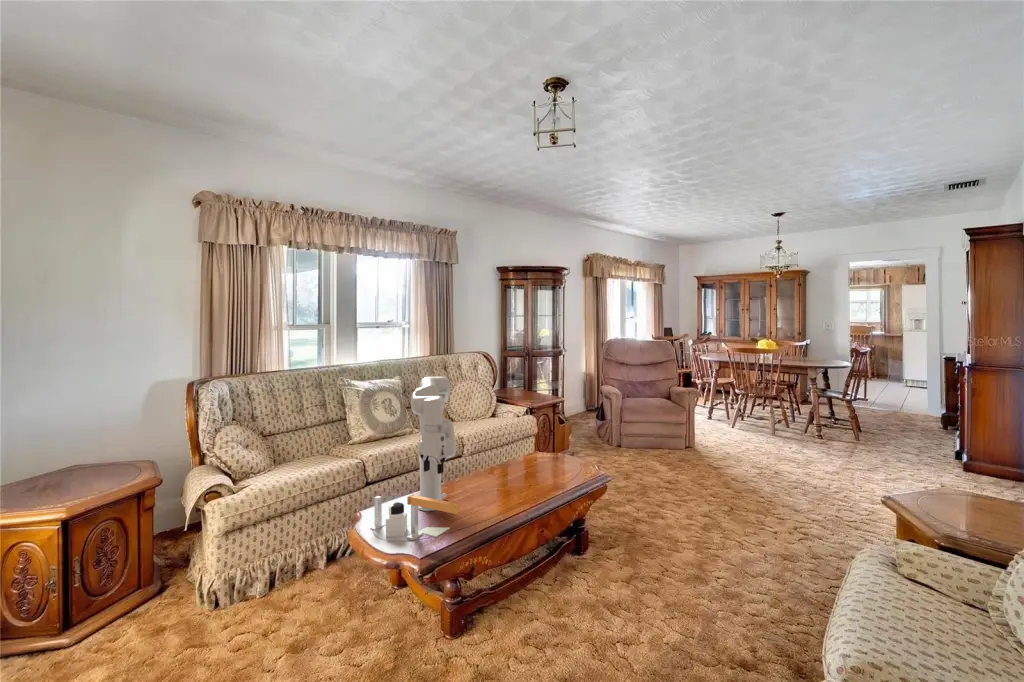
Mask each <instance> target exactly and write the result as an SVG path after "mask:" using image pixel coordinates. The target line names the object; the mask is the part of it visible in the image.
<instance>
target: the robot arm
mask: <svg viewBox="0 0 1024 682" xmlns="http://www.w3.org/2000/svg"><path fill="white" fill-rule="evenodd" d="M450 393H451V382H450V379H449V378H448V377H447V376H426V377H423V378H422V379H421V380H420V382H419V387H418V388H415V390H414V391H413V393H412V394H411V397H410V408H411V411H412V413H413V414H414V415H418V417H419V431H420V433H419V434H420V437H421V440H420V441H419V442H418V443H417V454H418V460H419V484H420V485H419V493H420V495H419V496H421V497H427V498H432V499H437V500H442V501H443V499H445V498H446V497H447V495H448V494H447V493H446V492H443V493H442V474H443V473H444V469H445V468H444V464H445V463H446V461H447V459H449V458H453V457H454V456H455V455H456V452H457V451H456V450H457V447H456V445H457V444H456V437H455V429H454V424H453V421H452V420H451V419H448V418H443V412H444V410H445V407H446V403H447V402H448V400H449V398H450ZM436 460H437V461H436ZM418 511H424V512H432V511H435V510H434V509H429V508H425V507H420V506H418Z"/></svg>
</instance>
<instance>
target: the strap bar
mask: <svg viewBox="0 0 1024 682" xmlns="http://www.w3.org/2000/svg"><path fill="white" fill-rule="evenodd" d="M406 500H407V505H408V506H409V505H410V506H411V505H415V506H420V507H425V508H429V509H434V511H439V512H443V513H448V514H454V515H456V514H458V513H459V512H460V503H456V502H453V501H446V500H443V499H442V500H437V499H432V498H427V497H421V496H420V495H416V494H411V495H409V496H407V499H406Z"/></svg>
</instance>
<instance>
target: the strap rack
mask: <svg viewBox="0 0 1024 682" xmlns="http://www.w3.org/2000/svg"><path fill="white" fill-rule="evenodd" d="M373 500H374V507H373V508H374V525H373V526H371V527H369V529H370V530H373V531H378V530H379V529H381V528H383V527H384V526H386V522H382V518H383V517H382V513H383V512H382V509H383V508H382V507H383V506H382V496H380V495H378V496H374V499H373ZM418 531H419V509H418V506H415V505H410V535H407V536H406V540H407V541H412V542H413V541H415V540H417V539H419V538H420V537H422V536H423V535H424V534H423V533H421V532H418Z"/></svg>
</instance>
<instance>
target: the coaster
mask: <svg viewBox="0 0 1024 682" xmlns="http://www.w3.org/2000/svg"><path fill="white" fill-rule="evenodd" d="M448 530H450V527H438V526H437V527H432V526H431V527H430V526H429V527H427V526H425V527H423V528H422V529H419V530H418V532H421V533H423V535H427V536H430V537H433V538H437V537H439V536H440V535H442V534H444V533H445V532H447V531H448Z"/></svg>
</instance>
